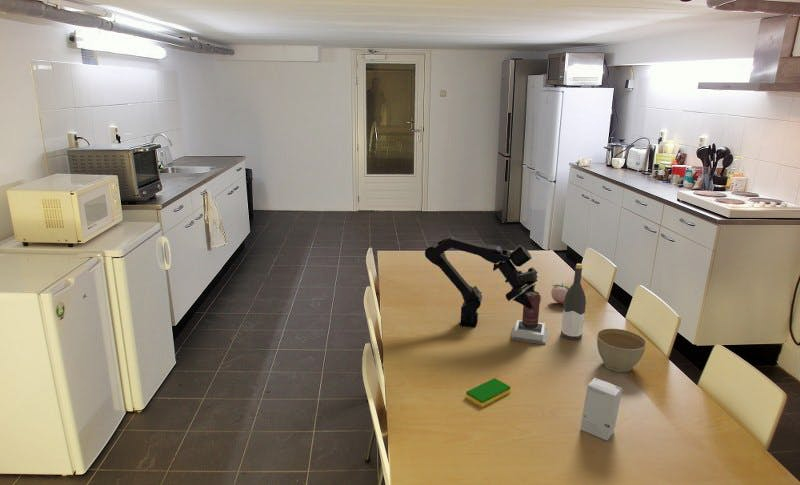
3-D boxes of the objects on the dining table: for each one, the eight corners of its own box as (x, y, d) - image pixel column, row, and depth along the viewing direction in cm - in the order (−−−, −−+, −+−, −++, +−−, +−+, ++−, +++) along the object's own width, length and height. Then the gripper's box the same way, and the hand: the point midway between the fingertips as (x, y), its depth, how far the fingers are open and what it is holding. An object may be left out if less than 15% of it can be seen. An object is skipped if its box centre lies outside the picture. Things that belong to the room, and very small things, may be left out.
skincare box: (579, 430, 155) (585, 384, 151) (587, 420, 160) (593, 376, 155) (608, 442, 150) (615, 395, 146) (616, 432, 155) (622, 386, 150)
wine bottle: (583, 333, 216) (591, 262, 207) (580, 341, 209) (589, 269, 200) (562, 329, 219) (569, 259, 211) (559, 337, 212) (566, 265, 204)
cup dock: (510, 339, 210) (511, 331, 209) (514, 326, 222) (515, 318, 221) (545, 344, 206) (545, 336, 205) (546, 330, 218) (547, 322, 217)
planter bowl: (620, 382, 181) (624, 353, 178) (583, 361, 194) (587, 333, 191) (652, 371, 188) (657, 343, 185) (615, 351, 201) (619, 325, 198)
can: (538, 329, 210) (541, 297, 205) (521, 328, 211) (524, 295, 207) (538, 322, 215) (541, 290, 211) (522, 321, 217) (524, 289, 212)
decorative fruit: (548, 305, 243) (550, 285, 240) (551, 299, 250) (553, 279, 247) (570, 309, 239) (572, 288, 236) (572, 302, 247) (574, 282, 244)
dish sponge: (510, 393, 174) (511, 386, 174) (481, 408, 166) (482, 401, 165) (494, 384, 180) (494, 377, 179) (465, 398, 171) (465, 391, 170)
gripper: (515, 269, 200) (541, 303, 198) (534, 256, 215) (558, 289, 212) (495, 284, 207) (519, 317, 204) (515, 271, 222) (537, 302, 219)
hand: (534, 306), depth 210 cm, fingers closed on can, 6 cm apart
